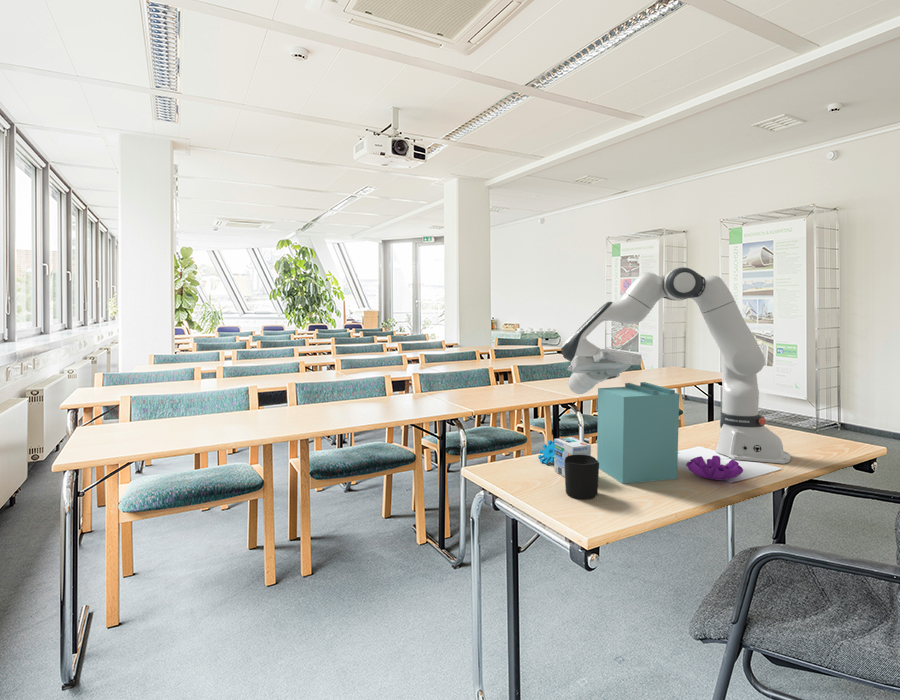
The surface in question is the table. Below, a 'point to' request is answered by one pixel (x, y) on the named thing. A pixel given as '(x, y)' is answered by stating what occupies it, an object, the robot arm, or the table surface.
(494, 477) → the table surface
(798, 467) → the table surface
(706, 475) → the purple curved piece
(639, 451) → the ridged teal block
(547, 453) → the gear
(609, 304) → the robot arm
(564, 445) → the light bulb box
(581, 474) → the pen holder
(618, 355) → the steel bar
